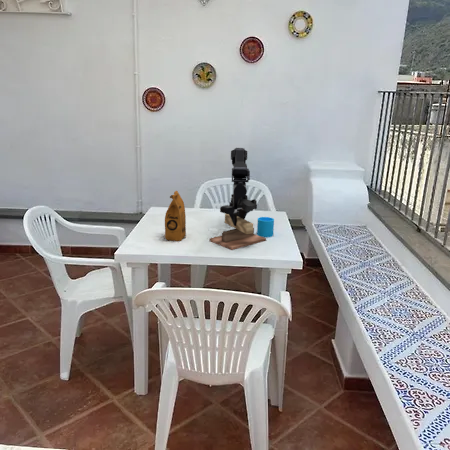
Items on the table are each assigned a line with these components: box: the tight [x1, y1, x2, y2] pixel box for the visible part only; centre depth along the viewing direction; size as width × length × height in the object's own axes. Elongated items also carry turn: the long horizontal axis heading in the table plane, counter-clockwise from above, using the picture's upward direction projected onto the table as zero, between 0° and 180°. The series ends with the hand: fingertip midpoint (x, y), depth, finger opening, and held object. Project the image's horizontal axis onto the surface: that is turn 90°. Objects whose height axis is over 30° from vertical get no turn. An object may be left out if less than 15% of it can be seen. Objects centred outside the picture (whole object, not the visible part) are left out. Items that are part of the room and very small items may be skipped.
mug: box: [256, 216, 275, 238], centre depth 222 cm, size 12×8×8 cm
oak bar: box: [224, 213, 254, 234], centre depth 209 cm, size 20×4×4 cm, turn 30°
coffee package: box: [164, 190, 187, 242], centre depth 211 cm, size 10×12×22 cm
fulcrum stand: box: [209, 227, 267, 251], centre depth 211 cm, size 16×22×6 cm
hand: (238, 225), depth 209 cm, fingers closed on oak bar, 4 cm apart
